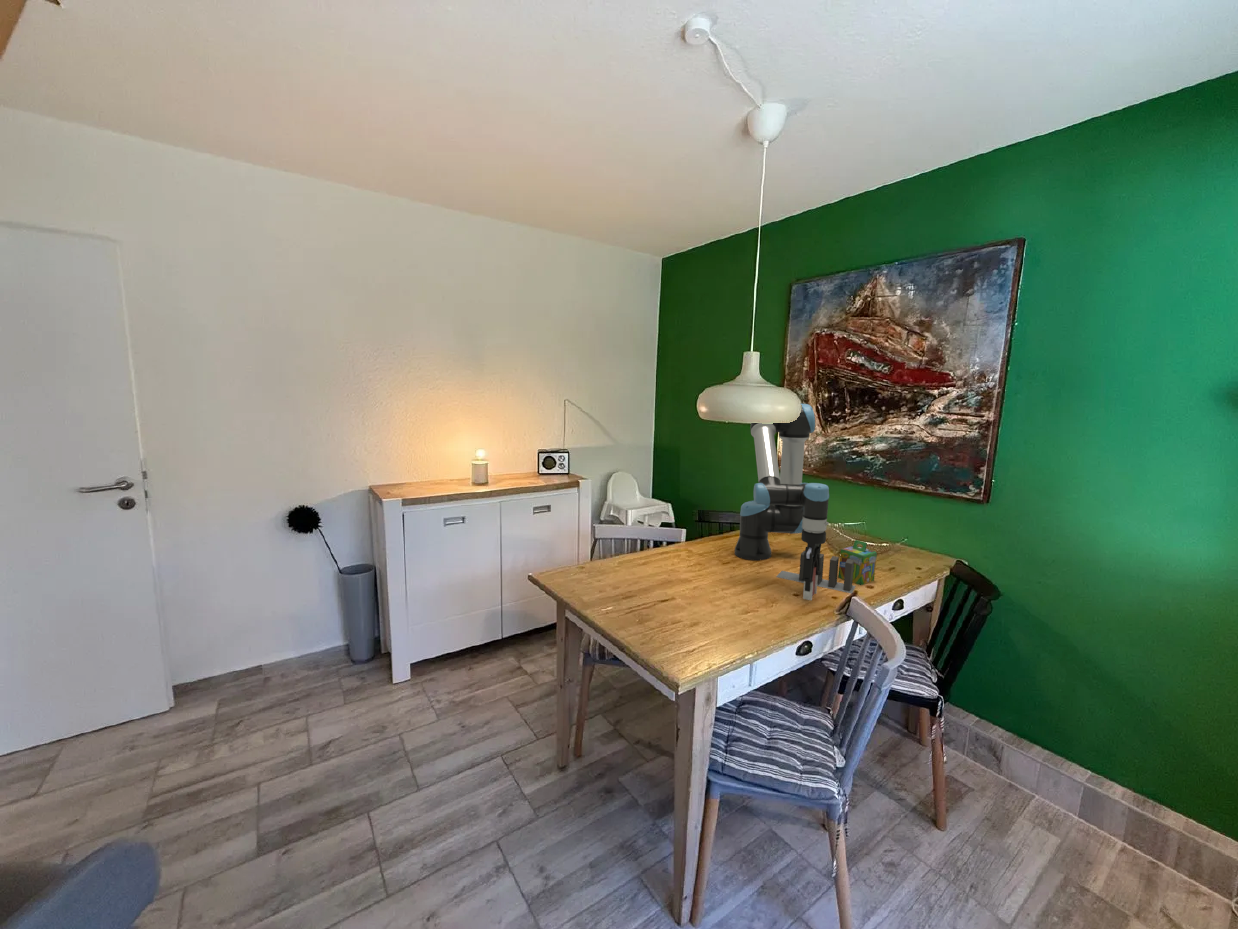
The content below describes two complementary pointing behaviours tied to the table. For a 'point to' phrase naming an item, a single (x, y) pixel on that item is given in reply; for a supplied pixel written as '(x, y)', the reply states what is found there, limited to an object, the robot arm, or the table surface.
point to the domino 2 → (814, 580)
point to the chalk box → (859, 563)
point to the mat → (823, 584)
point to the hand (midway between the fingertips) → (809, 596)
